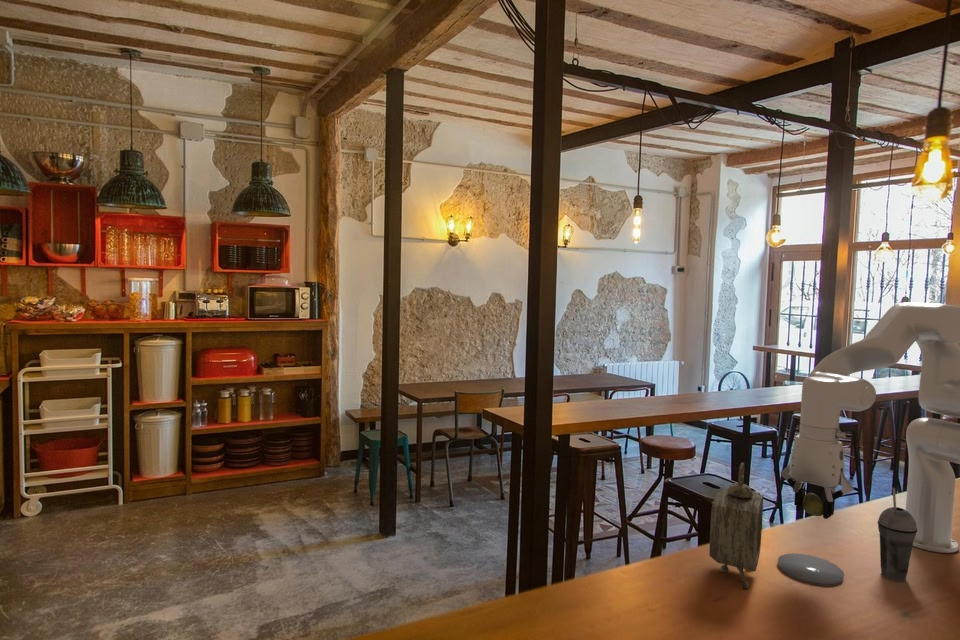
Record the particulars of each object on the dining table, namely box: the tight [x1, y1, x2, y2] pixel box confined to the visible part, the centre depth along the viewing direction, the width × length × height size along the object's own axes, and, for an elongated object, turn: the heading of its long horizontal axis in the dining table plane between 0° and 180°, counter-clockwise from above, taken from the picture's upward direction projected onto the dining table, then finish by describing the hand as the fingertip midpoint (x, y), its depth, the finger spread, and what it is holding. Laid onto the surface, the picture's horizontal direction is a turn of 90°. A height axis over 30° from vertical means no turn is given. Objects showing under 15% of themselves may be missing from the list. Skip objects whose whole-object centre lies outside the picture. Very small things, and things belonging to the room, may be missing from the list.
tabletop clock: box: [708, 462, 764, 589], centre depth 131 cm, size 14×9×25 cm, turn 150°
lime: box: [802, 492, 824, 517], centre depth 134 cm, size 4×5×5 cm
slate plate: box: [777, 553, 845, 586], centre depth 135 cm, size 13×13×1 cm
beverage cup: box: [877, 487, 917, 583], centre depth 132 cm, size 7×7×20 cm
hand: (813, 512), depth 134 cm, fingers closed on lime, 4 cm apart
